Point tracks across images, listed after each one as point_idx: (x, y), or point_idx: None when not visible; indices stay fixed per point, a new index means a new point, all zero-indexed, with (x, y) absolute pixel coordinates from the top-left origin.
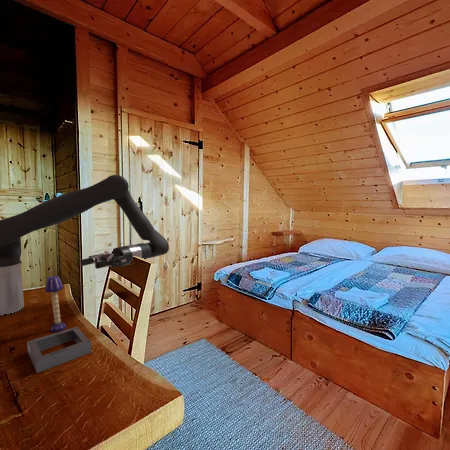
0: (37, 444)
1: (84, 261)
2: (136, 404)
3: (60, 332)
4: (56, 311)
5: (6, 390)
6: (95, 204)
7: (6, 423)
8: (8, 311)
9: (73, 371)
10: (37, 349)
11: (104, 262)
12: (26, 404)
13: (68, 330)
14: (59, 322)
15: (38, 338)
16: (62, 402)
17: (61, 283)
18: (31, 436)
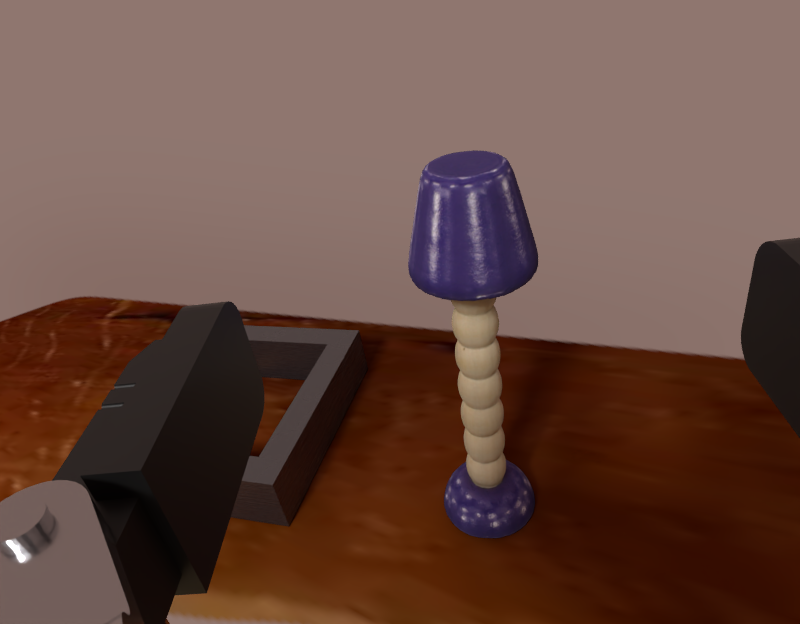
0: (11, 318)
1: (793, 317)
2: None
3: (299, 416)
4: (462, 402)
5: None
6: None
7: (118, 300)
8: None
9: (88, 414)
10: (256, 337)
11: (82, 436)
12: (122, 324)
13: (277, 442)
14: (469, 473)
15: (342, 355)
16: (31, 363)
17: (446, 257)
18: (37, 316)
